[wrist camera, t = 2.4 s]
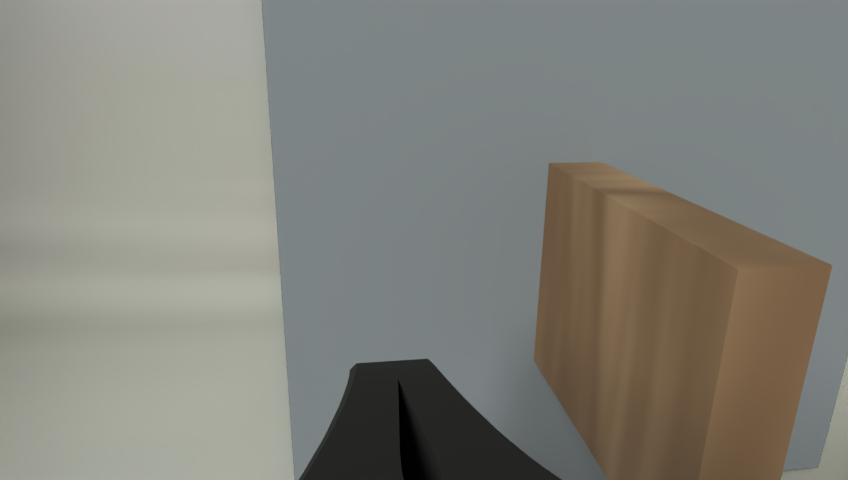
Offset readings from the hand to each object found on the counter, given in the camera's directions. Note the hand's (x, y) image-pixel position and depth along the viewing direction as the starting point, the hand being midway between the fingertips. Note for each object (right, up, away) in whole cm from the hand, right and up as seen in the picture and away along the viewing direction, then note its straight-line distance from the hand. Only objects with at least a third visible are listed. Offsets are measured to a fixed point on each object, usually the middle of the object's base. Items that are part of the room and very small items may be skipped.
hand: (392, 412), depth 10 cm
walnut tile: (+5, +2, +7) cm, 9 cm away
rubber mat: (+6, +2, +7) cm, 10 cm away
